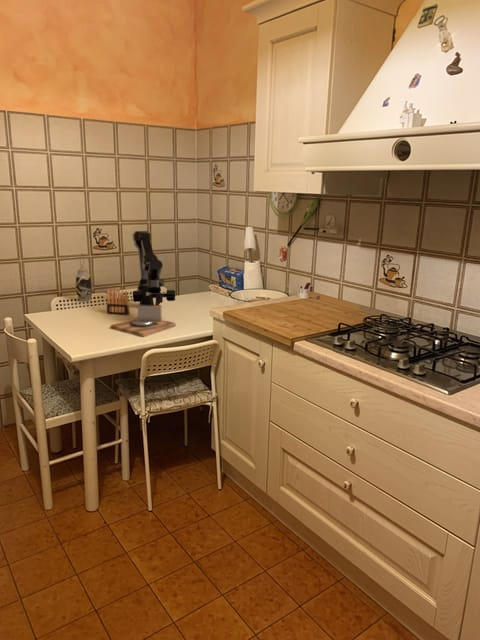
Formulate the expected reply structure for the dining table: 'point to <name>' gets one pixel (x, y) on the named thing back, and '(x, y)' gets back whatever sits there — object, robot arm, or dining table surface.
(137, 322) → the dial knob
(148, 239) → the robot arm
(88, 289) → the clear tall bottle
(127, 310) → the ammunition clip
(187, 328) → the dining table surface
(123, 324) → the dial plate
